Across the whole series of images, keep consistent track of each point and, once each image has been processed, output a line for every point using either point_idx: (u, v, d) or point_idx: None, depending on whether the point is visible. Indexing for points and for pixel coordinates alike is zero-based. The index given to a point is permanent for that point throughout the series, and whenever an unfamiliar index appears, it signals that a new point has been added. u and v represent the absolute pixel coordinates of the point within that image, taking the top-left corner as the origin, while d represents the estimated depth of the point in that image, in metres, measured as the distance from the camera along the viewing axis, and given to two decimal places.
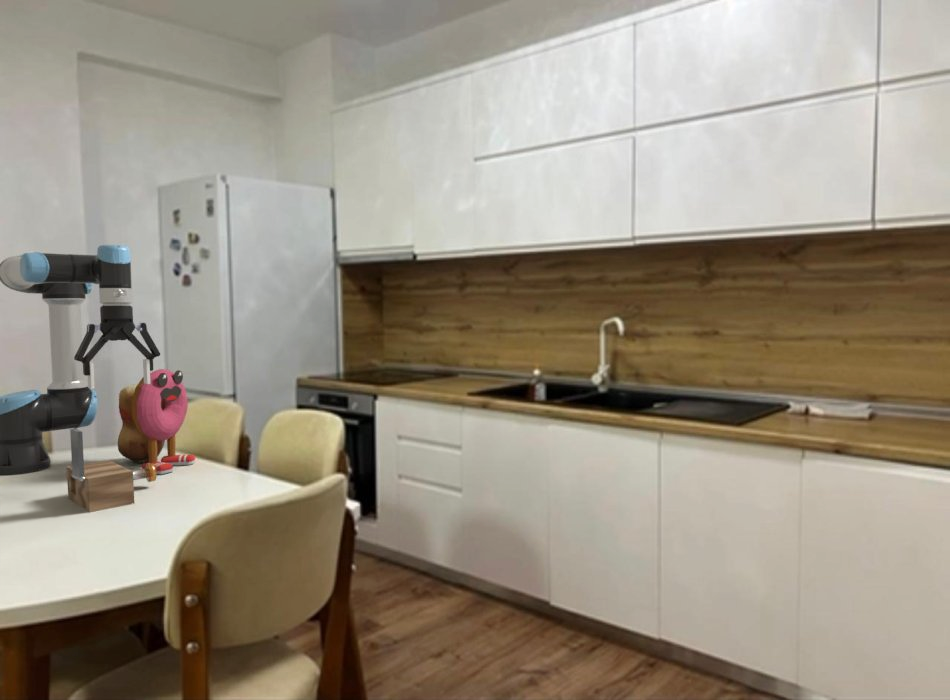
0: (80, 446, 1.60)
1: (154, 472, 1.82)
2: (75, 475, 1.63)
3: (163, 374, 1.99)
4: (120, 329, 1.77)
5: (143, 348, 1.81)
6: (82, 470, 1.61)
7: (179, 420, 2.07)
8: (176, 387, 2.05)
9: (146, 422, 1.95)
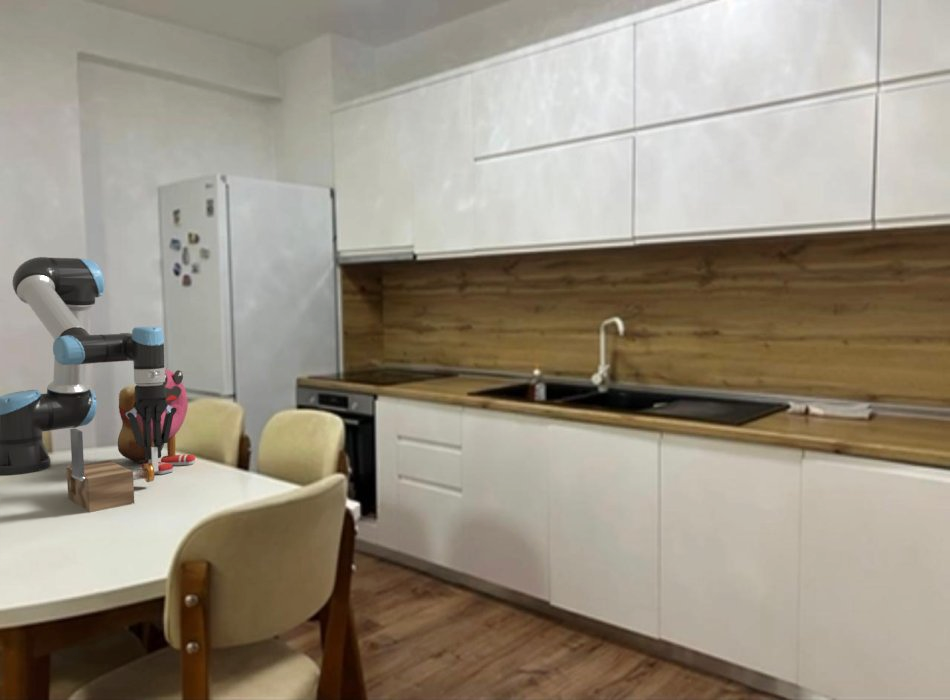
0: (80, 446, 1.60)
1: (152, 472, 1.81)
2: (75, 475, 1.63)
3: None
4: (154, 405, 1.82)
5: (159, 433, 1.83)
6: (82, 470, 1.61)
7: (179, 420, 2.07)
8: (176, 387, 2.05)
9: None
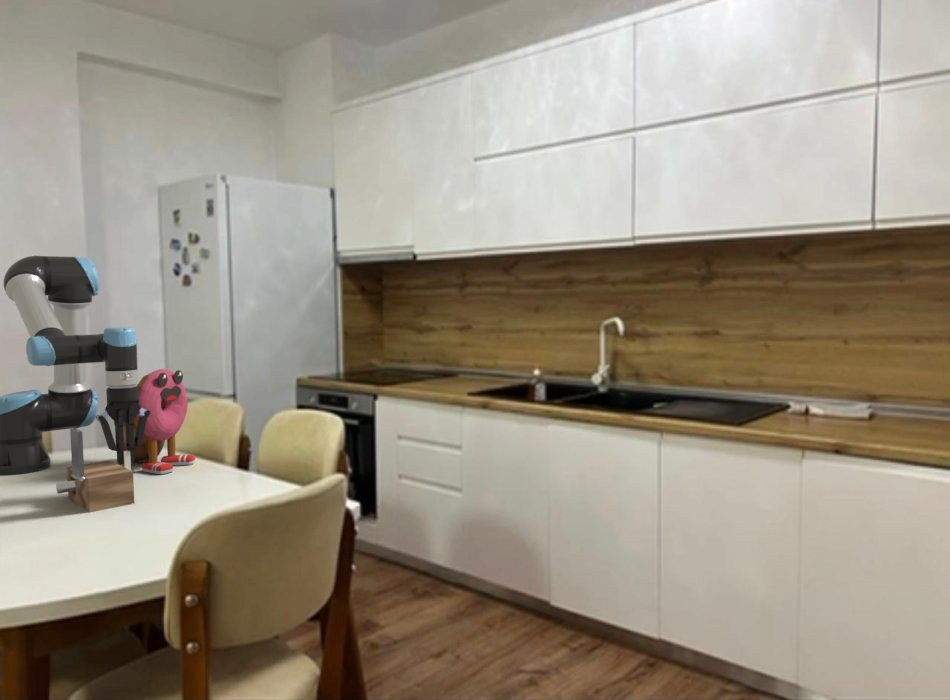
0: (80, 446, 1.60)
1: None
2: (75, 475, 1.63)
3: (163, 374, 1.99)
4: (127, 408, 1.78)
5: (131, 436, 1.79)
6: (82, 470, 1.61)
7: (179, 420, 2.07)
8: (176, 387, 2.05)
9: (146, 422, 1.95)
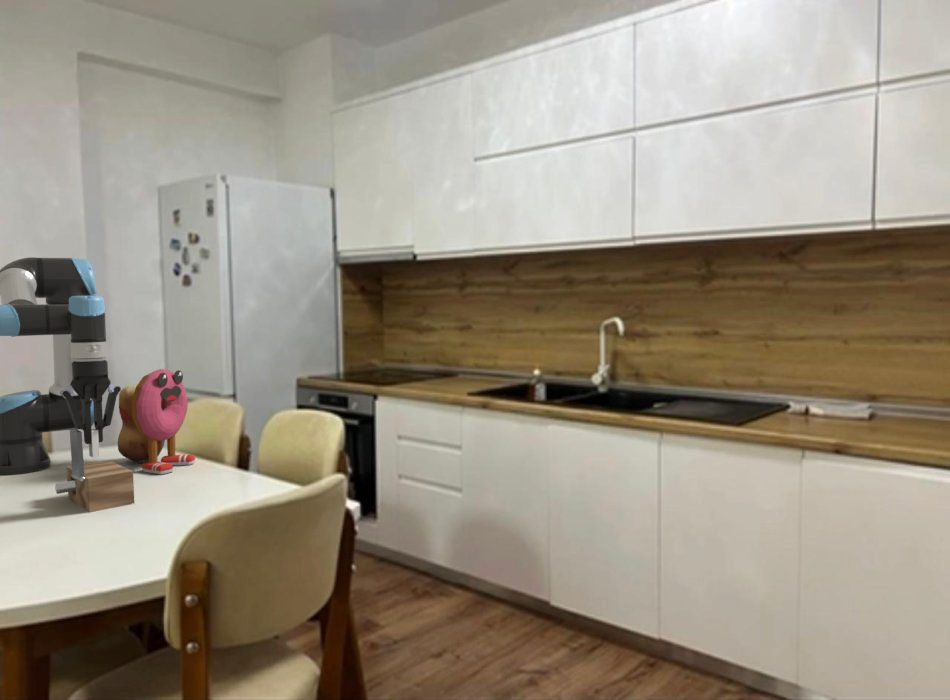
0: (79, 446, 1.60)
1: None
2: (75, 475, 1.63)
3: (163, 374, 1.99)
4: (95, 383, 1.64)
5: (100, 414, 1.65)
6: (82, 470, 1.61)
7: (179, 420, 2.07)
8: (176, 387, 2.05)
9: (146, 422, 1.95)
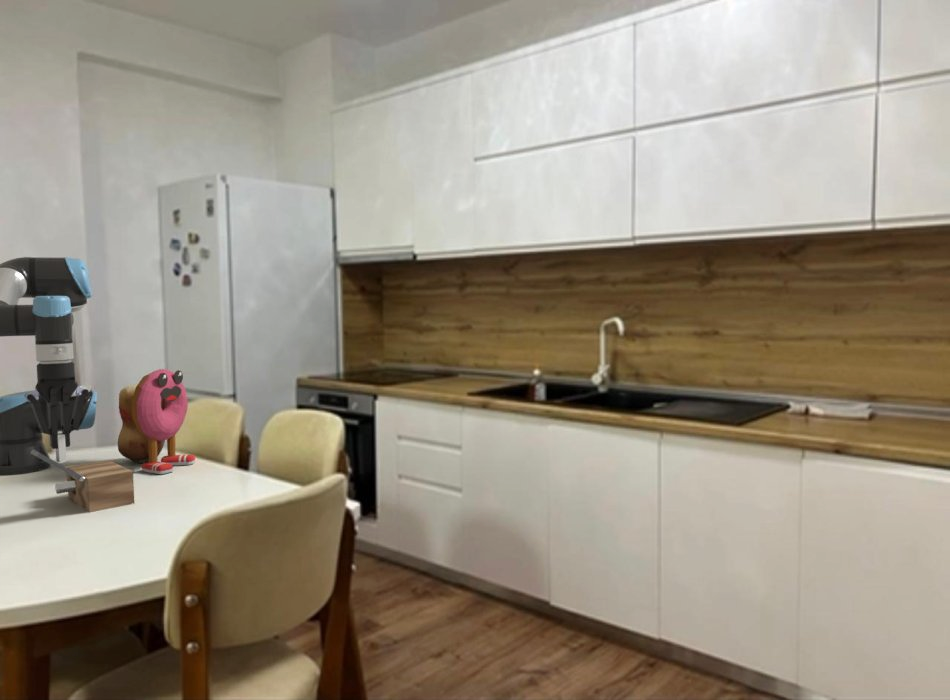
0: (51, 462, 1.56)
1: None
2: None
3: (163, 374, 1.99)
4: (61, 386, 1.59)
5: (66, 418, 1.60)
6: (74, 474, 1.60)
7: (179, 420, 2.07)
8: (176, 387, 2.05)
9: (146, 422, 1.95)
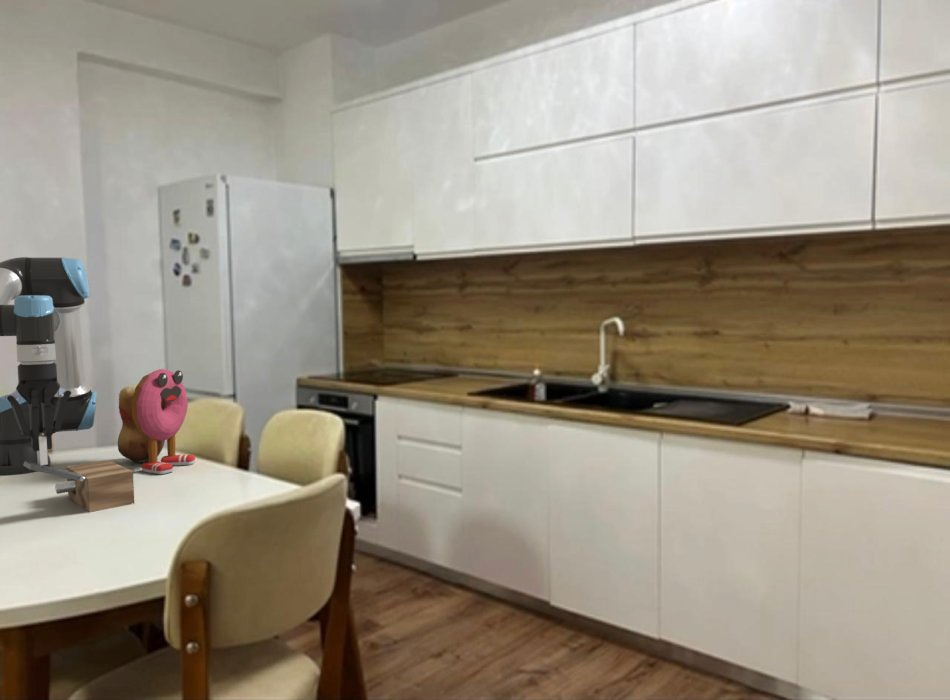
0: (46, 471, 1.55)
1: None
2: None
3: (163, 374, 1.99)
4: (42, 388, 1.56)
5: (48, 420, 1.57)
6: (73, 476, 1.59)
7: (179, 420, 2.07)
8: (176, 387, 2.05)
9: (146, 422, 1.95)
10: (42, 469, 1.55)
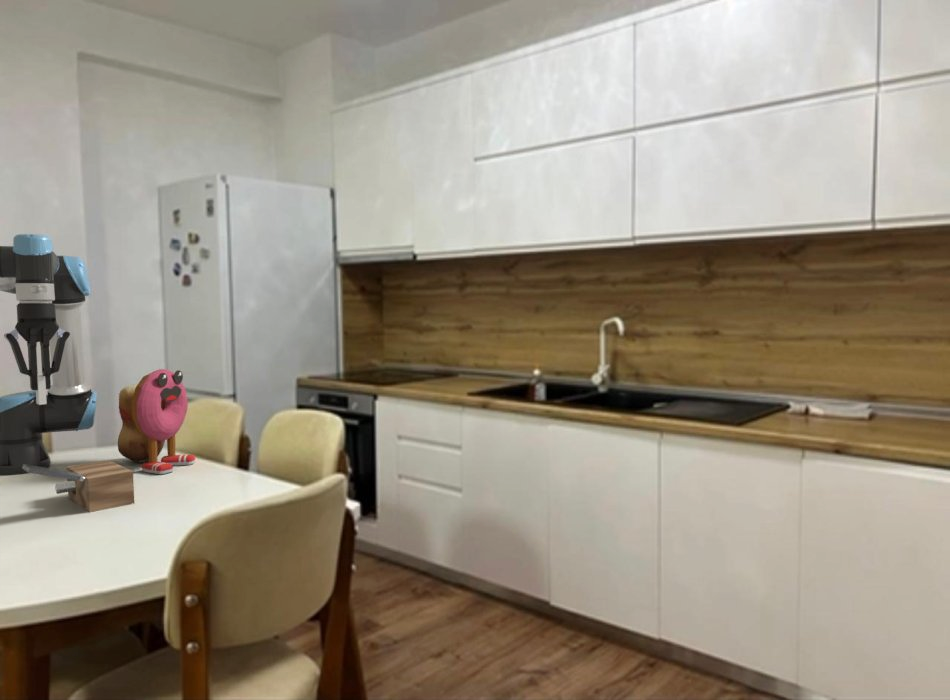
0: (45, 473, 1.55)
1: None
2: None
3: (163, 374, 1.99)
4: (41, 327, 1.57)
5: (47, 360, 1.58)
6: (73, 476, 1.59)
7: (179, 420, 2.07)
8: (176, 387, 2.05)
9: (146, 422, 1.95)
10: (41, 471, 1.55)
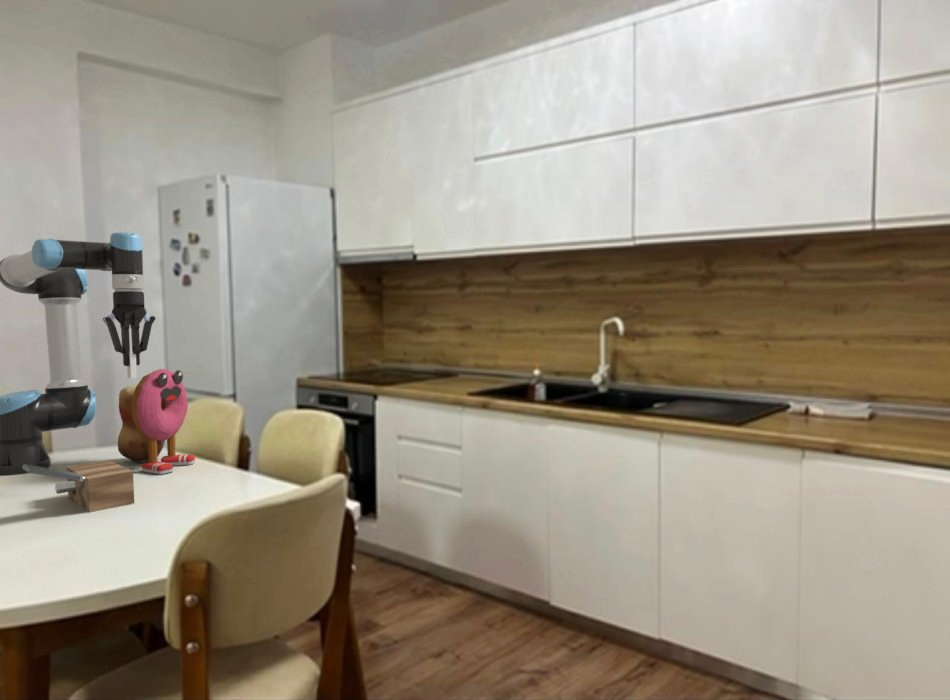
0: (45, 473, 1.55)
1: None
2: None
3: (163, 374, 1.99)
4: (133, 312, 1.83)
5: (137, 340, 1.84)
6: (73, 476, 1.59)
7: (179, 420, 2.07)
8: (176, 387, 2.05)
9: (146, 422, 1.95)
10: (41, 471, 1.55)
